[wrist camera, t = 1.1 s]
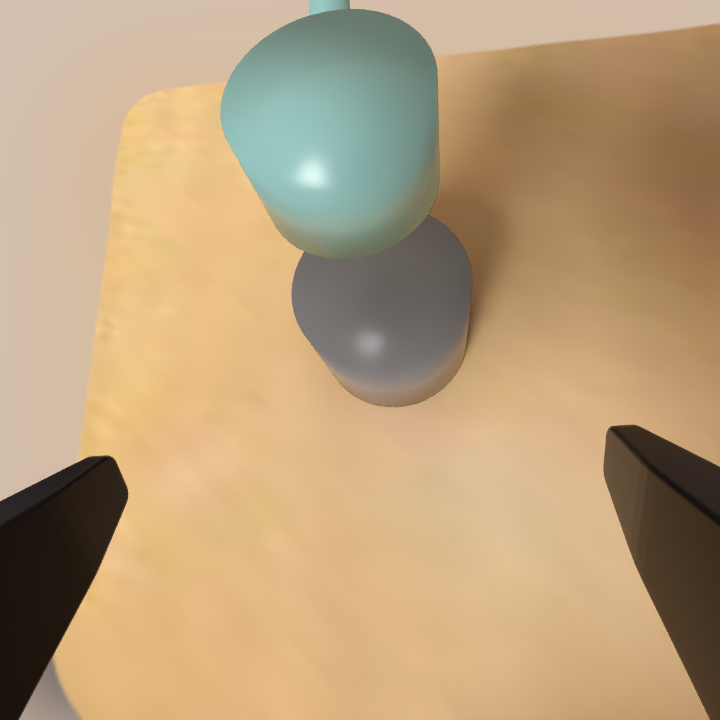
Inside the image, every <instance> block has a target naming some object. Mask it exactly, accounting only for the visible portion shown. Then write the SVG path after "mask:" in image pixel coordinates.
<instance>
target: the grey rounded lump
mask: <svg viewBox="0 0 720 720" xmlns="http://www.w3.org/2000/svg"><path fill="white" fill-rule="evenodd" d="M471 293H472V271H471V266H470V262H469V259H468V256H467V253H466V251H465V249H464V248H463V246H462V244H461V242H460V241H459V240H458V238H457V237H456V236H455V235H454V234H453V233H452V232H451V231H450V230H449V229H448V228H447V227H446V226H445V225H444V224H442V223H441V222H440V221H438V220H436V219H435V218H433V217H431V216H429V215H427V216H426V217H425V219H424V220H423V221H422V222H421V223H420V225H419V226H418V227H417V228H416V229H415V230H414V231H413V232H412V233H410V234H409V235H408V236H407V237H405V238H404V239H403V240H401V241H400V242H398V243H396V244H395V245H393V246H391V247H389V248H387V249H385V250H382V251H380V252H378V253H375V254H371V255H368V256H364V257H358V258H351V259H332V258H325V257H319V256H316V255H313V254H310V253H307V252H304V253H303V255H302V257H301V259H300V261H299V263H298V265H297V268H296V271H295V274H294V278H293V283H292V305H293V310H294V314H295V317H296V320H297V323H298V325H299V327H300V328H301V330H302V332H303V334H304V335H305V336H306V338H307V339H308V340H309V342H310V343H311V345H312V346H313V347H314V349H315V350H316V351H317V353H318V354H319V355H320V357H321V358H322V360H323V361H324V362H325V364H326V365H327V366H328V368H329V369H330V370H331V372H332V373H333V375H334V376H335V377H336V379H337V380H338V381H339V383H340V384H341V385H342V386H343V387H344V388H345V389H346V390H347V391H348V392H350V393H351V394H352V395H354V396H355V397H357V398H359V399H361V400H363V401H365V402H368V403H370V404H374V405H378V406H385V407H402V406H409V405H412V404H416V403H419V402H422V401H424V400H426V399H428V398H430V397H432V396H434V395H435V394H437V393H438V392H439V391H441V390H442V389H443V388H444V387H445V386H446V385H447V384H448V383H449V382H450V381H451V380H452V378H453V377H454V376H455V375H456V373H457V371H458V369H459V368H460V366H461V363H462V361H463V359H464V355H465V351H466V344H467V334H468V324H469V313H470V303H471Z"/></svg>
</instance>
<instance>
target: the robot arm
mask: <svg viewBox="0 0 720 720" xmlns="http://www.w3.org/2000/svg"><path fill="white" fill-rule="evenodd" d="M604 477H605V481H606V484H607V487H608V490H609V492H610V495H611V498H612V501H613V504H614V507H615V510H616V512H617V515H618V518H619V521H620V524H621V527H622V530H623V532H624V535H625V538H626V541H627V544H628V547H629V550H630V552H631V555H632V558H633V560H634V563H635V565H636V568H637V570H638V572H639V574H640V576H641V579H642V581H643V583H644V585H645V587H646V589H647V591H648V593H649V595H650V597H651V599H652V601H653V603H654V605H655V607H656V609H657V611H658V614H659V616H660V618H661V620H662V622H663V624H664V626H665V628H666V630H667V632H668V634H669V636H670V638H671V640H672V642H673V644H674V646H675V648H676V650H677V653H678V655H679V657H680V659H681V661H682V663H683V665H684V667H685V669H686V671H687V673H688V675H689V677H690V679H691V681H692V683H693V685H694V687H695V690H696V692H697V694H698V696H699V698H700V700H701V702H702V704H703V706H704V708H705V710H706V712H707V714H708V716H709V718H710V720H720V467H719V466H717V465H715V464H713V463H711V462H709V461H707V460H705V459H703V458H701V457H699V456H697V455H695V454H693V453H691V452H689V451H687V450H685V449H683V448H681V447H679V446H677V445H675V444H673V443H671V442H669V441H667V440H665V439H663V438H661V437H659V436H657V435H655V434H653V433H651V432H649V431H647V430H645V429H643V428H642V427H639V426H637V425H620V426H611V427H610V428H609V429H608V431H607V434H606V444H605V455H604ZM127 500H128V489H127V486H126V484H125V481H124V479H123V477H122V474H121V472H120V470H119V467H118V465H117V463H116V461H115V459H114V458H113V457H111V456H108V455H106V456H91V457H87V458H85V459H83V460H81V461H79V462H77V463H75V464H73V465H71V466H69V467H67V468H65V469H63V470H61V471H59V472H57V473H55V474H53V475H52V476H50V477H48V478H46V479H44V480H42V481H40V482H38V483H36V484H34V485H32V486H30V487H28V488H26V489H24V490H22V491H20V492H18V493H16V494H14V495H12V496H10V497H8V498H6V499H4V500H2V501H0V720H19V719H20V717H21V715H22V713H23V711H24V709H25V707H26V705H27V704H28V702H29V700H30V698H31V696H32V694H33V692H34V690H35V689H36V687H37V685H38V683H39V681H40V679H41V677H42V676H43V673H44V672H45V670H46V668H47V666H48V664H49V662H50V660H51V659H52V657H53V655H54V653H55V651H56V649H57V647H58V646H59V644H60V642H61V640H62V638H63V636H64V634H65V632H66V631H67V629H68V627H69V625H70V623H71V621H72V619H73V617H74V616H75V614H76V612H77V610H78V608H79V606H80V604H81V603H82V601H83V599H84V597H85V595H86V593H87V591H88V589H89V588H90V586H91V584H92V582H93V580H94V578H95V576H96V574H97V571H98V569H99V567H100V565H101V563H102V560H103V558H104V555H105V553H106V551H107V548H108V546H109V544H110V541H111V539H112V536H113V534H114V532H115V529H116V527H117V525H118V522H119V520H120V517H121V515H122V513H123V510H124V508H125V506H126V503H127Z"/></svg>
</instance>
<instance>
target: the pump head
mask: <svg viewBox="0 0 720 720" xmlns="http://www.w3.org/2000/svg"><path fill="white" fill-rule="evenodd" d="M221 123H222V129H223V132H224V135H225V138H226V139H227V141H228V143H229V145H230V147H231V148H232V150H233V152H234V154H235V155H236V157H237V159H238V161H239V163H240V164H241V166H242V168H243V170H244V171H245V173H246V175H247V177H248V178H249V180H250V182H251V184H252V185H253V187H254V189H255V191H256V193H257V194H258V196H259V198H260V200H261V201H262V203H263V205H264V207H265V208H266V210H267V212H268V214H269V216H270V217H271V219H272V221H273V223H274V224H275V226H276V228H277V229H278V231H279V232H280V233H281V234H282V236H283V237H284V238H285V239H287V240H288V241H289V242H290V243H291V244H293V245H294V246H296V247H297V248H299V249H301V250H303V251H305V252H307V253H310V254H313V255H316V256H319V257H325V258H332V259H351V258H358V257H364V256H368V255H371V254H375V253H378V252H380V251H382V250H385V249H387V248H389V247H391V246H393V245H395V244H396V243H398V242H400V241H401V240H403V239H404V238H405V237H407V236H408V235H409V234H410V233H412V232H413V231H414V230H415V229H416V228H417V227H418V226H419V225H420V223H421V222H422V221H423V220H424V219H425V217H426V216H427V214H428V213H429V211H430V210H431V208H432V206H433V204H434V201H435V199H436V196H437V193H438V189H439V182H440V162H439V119H438V77H437V66H436V61H435V57H434V55H433V53H432V50H431V48H430V46H429V45H428V44H427V42H426V40H425V39H424V38H423V37H422V36H421V35H420V33H419V32H417V31H416V30H415V29H414V28H413V27H411V26H410V25H408V24H407V23H405V22H403V21H402V20H400V19H398V18H395V17H393V16H390V15H387V14H384V13H380V12H376V11H370V10H363V9H350V3H349V0H309V16H307V17H304V18H301V19H298V20H296V21H294V22H292V23H289V24H287V25H285V26H283V27H281V28H280V29H278V30H276V31H274V32H273V33H271V34H270V35H268V36H267V37H265V38H264V39H263V40H262V41H260V42H259V43H258V44H257V45H255V46H254V47H253V48H252V49H251V50H250V51H249V52H248V53H247V54H246V55H245V56H244V58H243V59H242V60H241V62H240V63H239V64H238V65H237V66H236V68H235V70H234V71H233V73H232V75H231V76H230V78H229V80H228V82H227V84H226V87H225V90H224V93H223V96H222V102H221Z"/></svg>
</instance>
